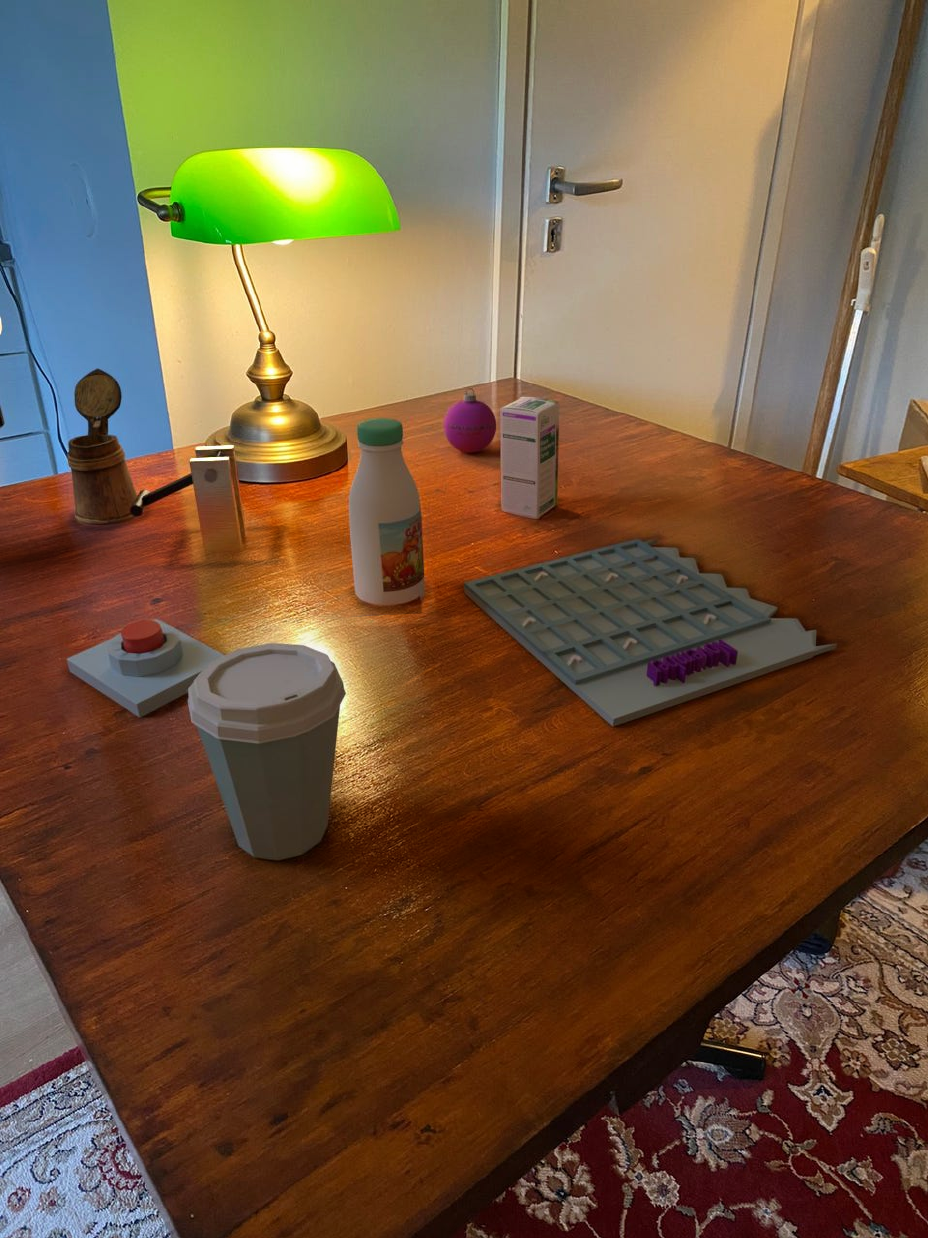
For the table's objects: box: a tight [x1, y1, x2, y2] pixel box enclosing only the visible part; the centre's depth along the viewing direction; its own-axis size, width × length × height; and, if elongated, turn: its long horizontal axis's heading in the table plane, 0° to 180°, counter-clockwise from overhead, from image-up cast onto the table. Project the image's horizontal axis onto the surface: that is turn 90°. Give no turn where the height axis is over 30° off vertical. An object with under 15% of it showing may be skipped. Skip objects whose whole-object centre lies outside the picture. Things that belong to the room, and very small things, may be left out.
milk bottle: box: [348, 417, 425, 606], centre depth 96 cm, size 8×8×20 cm
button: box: [120, 619, 164, 654], centre depth 86 cm, size 4×4×2 cm
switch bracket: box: [188, 445, 247, 554], centre depth 109 cm, size 12×10×13 cm
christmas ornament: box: [443, 387, 497, 454], centre depth 141 cm, size 8×8×10 cm
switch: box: [130, 451, 224, 518], centre depth 107 cm, size 12×5×2 cm, turn 95°
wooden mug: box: [66, 368, 138, 526], centre depth 119 cm, size 9×14×18 cm, turn 6°
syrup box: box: [499, 395, 560, 520], centre depth 119 cm, size 6×6×14 cm
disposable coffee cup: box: [187, 642, 347, 861], centre depth 65 cm, size 11×11×15 cm
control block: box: [66, 618, 225, 718], centre depth 87 cm, size 12×10×4 cm
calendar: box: [463, 537, 838, 727], centre depth 96 cm, size 27×29×2 cm
